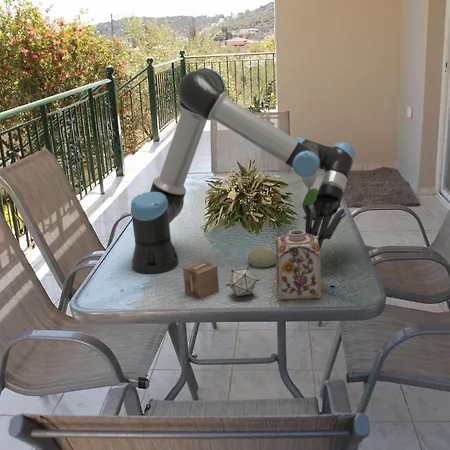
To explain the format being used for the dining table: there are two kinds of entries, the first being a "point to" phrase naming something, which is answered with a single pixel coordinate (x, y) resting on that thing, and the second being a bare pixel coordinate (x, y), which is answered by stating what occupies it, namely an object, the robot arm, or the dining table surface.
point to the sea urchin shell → (262, 257)
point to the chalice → (309, 181)
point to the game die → (242, 282)
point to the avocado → (310, 200)
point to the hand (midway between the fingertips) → (310, 257)
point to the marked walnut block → (201, 279)
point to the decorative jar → (298, 266)
